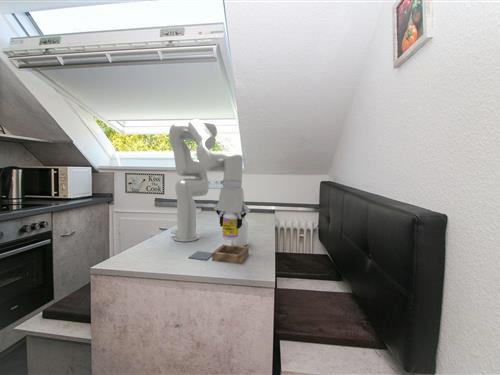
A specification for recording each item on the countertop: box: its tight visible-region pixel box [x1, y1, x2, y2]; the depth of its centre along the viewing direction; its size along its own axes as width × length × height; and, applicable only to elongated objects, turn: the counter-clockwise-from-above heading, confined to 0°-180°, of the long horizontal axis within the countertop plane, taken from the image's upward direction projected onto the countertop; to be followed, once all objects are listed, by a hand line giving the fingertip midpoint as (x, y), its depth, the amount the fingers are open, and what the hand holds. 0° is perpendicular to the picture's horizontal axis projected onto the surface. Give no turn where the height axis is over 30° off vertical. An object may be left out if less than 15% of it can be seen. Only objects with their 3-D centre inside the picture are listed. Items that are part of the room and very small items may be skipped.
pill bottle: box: [230, 215, 249, 247], centre depth 116 cm, size 8×8×15 cm
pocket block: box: [211, 244, 250, 265], centre depth 98 cm, size 12×12×3 cm
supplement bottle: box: [221, 212, 239, 241], centre depth 98 cm, size 7×7×13 cm
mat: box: [188, 250, 213, 261], centre depth 98 cm, size 8×8×1 cm
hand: (230, 226), depth 98 cm, fingers closed on supplement bottle, 6 cm apart
